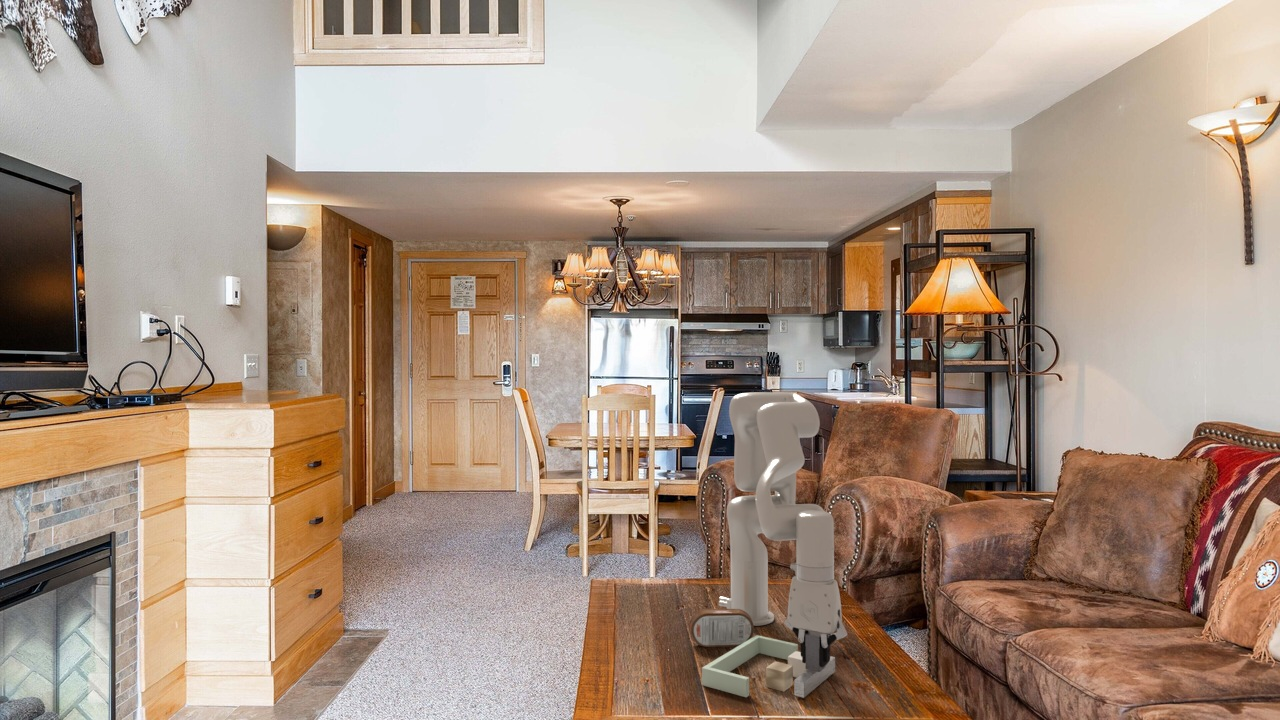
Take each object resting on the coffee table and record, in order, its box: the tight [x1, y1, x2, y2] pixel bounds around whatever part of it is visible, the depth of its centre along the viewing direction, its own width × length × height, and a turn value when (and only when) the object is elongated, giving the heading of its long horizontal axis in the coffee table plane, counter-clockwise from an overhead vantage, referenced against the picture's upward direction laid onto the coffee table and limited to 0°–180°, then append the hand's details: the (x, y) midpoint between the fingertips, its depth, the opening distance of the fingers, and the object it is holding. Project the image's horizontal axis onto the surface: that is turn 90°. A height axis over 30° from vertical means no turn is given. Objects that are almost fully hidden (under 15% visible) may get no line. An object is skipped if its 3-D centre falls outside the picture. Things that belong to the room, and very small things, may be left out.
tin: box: [688, 608, 755, 648], centre depth 180 cm, size 15×3×8 cm, turn 94°
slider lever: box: [793, 631, 836, 699], centre depth 157 cm, size 3×16×10 cm, turn 144°
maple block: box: [765, 660, 794, 692], centre depth 157 cm, size 4×4×4 cm
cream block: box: [787, 650, 808, 678], centre depth 163 cm, size 4×4×4 cm
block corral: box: [701, 634, 799, 698], centre depth 164 cm, size 10×24×4 cm, turn 144°
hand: (815, 662), depth 157 cm, fingers closed on slider lever, 3 cm apart
